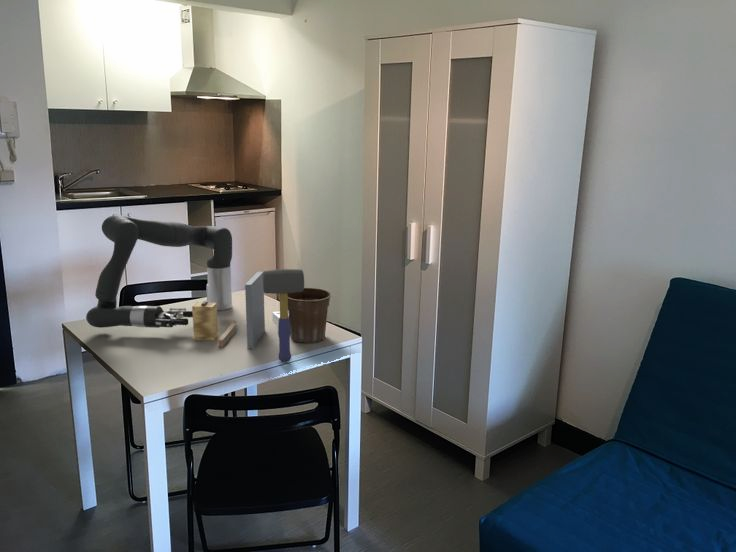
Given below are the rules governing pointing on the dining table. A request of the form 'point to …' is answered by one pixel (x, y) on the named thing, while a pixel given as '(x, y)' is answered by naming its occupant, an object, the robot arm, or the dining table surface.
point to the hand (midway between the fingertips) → (192, 318)
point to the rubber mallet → (283, 302)
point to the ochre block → (205, 321)
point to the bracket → (276, 317)
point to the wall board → (250, 313)
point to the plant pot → (308, 314)
